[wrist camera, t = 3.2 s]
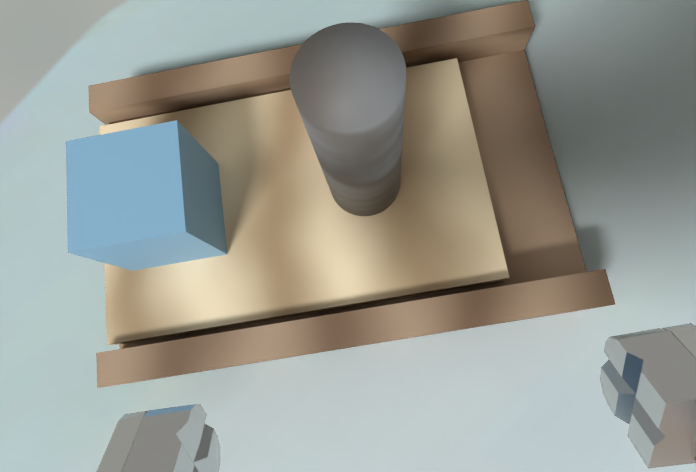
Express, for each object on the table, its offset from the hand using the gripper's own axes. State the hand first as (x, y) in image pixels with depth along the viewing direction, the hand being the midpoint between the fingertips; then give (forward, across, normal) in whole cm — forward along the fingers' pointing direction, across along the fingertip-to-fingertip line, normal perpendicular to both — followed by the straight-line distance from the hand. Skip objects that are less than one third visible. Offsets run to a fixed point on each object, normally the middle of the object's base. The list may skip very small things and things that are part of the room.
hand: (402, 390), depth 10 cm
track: (+17, +2, +4) cm, 17 cm away
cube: (+16, +10, +3) cm, 19 cm away
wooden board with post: (+16, +4, +3) cm, 17 cm away
